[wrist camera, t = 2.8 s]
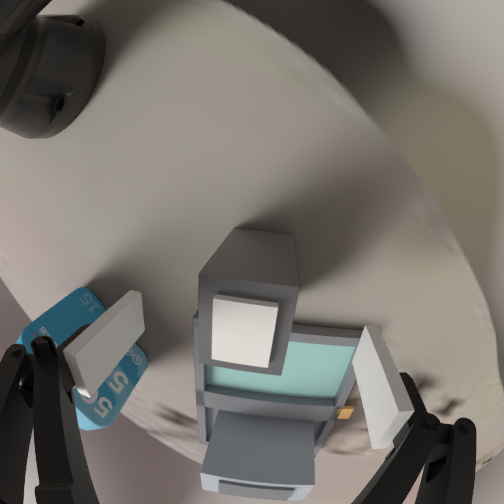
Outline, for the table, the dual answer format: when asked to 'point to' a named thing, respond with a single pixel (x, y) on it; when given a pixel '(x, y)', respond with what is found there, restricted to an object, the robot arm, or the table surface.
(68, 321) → the data package
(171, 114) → the table surface
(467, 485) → the robot arm
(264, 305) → the plug
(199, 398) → the grey flat panel
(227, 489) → the block
